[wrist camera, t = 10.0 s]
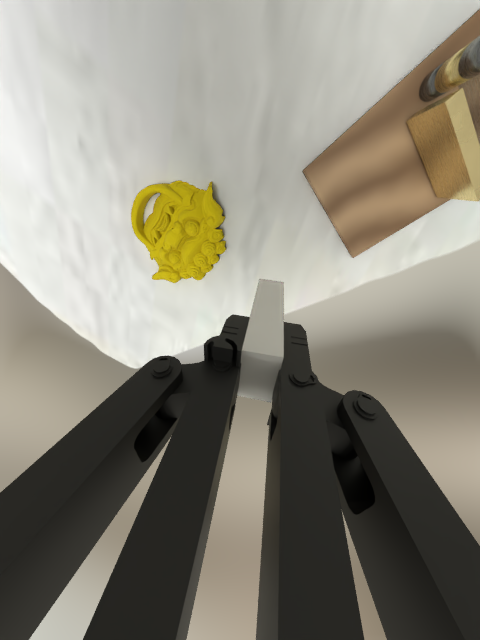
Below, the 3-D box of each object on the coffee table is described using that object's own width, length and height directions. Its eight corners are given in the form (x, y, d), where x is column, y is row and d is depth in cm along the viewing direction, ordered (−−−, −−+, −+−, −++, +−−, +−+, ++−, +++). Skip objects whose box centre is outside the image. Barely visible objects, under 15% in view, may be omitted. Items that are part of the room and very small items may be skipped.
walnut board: (302, 171, 28) (302, 170, 27) (481, 7, 19) (489, 0, 18) (351, 256, 33) (352, 257, 32) (510, 158, 24) (519, 158, 23)
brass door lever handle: (398, 101, 22) (436, 75, 17) (444, 59, 20) (505, 13, 15) (436, 197, 26) (477, 201, 21) (478, 170, 24) (536, 166, 19)
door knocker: (129, 183, 34) (112, 183, 30) (223, 180, 31) (215, 180, 27) (155, 277, 43) (144, 285, 39) (228, 281, 40) (223, 290, 37)
